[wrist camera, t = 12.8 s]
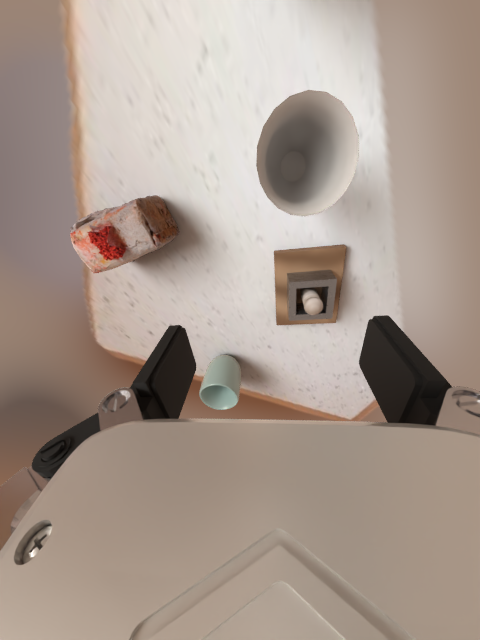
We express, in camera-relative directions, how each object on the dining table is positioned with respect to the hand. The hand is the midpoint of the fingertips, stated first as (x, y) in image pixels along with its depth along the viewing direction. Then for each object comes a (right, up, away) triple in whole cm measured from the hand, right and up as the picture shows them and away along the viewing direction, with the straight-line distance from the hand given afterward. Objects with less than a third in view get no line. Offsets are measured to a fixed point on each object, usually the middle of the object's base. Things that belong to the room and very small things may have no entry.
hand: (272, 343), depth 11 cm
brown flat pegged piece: (+10, +7, +28) cm, 31 cm away
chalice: (+5, +22, +19) cm, 30 cm away
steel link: (+10, +6, +27) cm, 29 cm away
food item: (-19, +17, +25) cm, 36 cm away
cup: (-5, -9, +40) cm, 41 cm away
